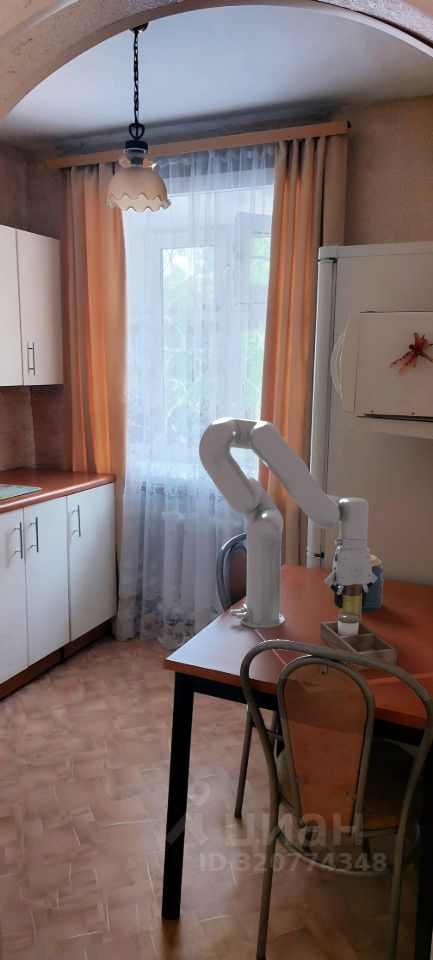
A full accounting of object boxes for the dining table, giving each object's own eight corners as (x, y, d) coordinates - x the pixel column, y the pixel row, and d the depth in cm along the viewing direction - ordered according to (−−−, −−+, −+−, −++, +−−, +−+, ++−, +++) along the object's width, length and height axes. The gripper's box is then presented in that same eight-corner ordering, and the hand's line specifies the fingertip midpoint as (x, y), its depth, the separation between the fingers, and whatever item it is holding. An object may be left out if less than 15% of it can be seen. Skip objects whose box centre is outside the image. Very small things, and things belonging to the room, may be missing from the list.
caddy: (355, 673, 157) (356, 654, 156) (320, 639, 176) (320, 622, 175) (395, 668, 160) (396, 649, 159) (356, 636, 179) (357, 619, 178)
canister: (389, 604, 204) (393, 549, 201) (368, 615, 194) (372, 557, 191) (352, 595, 212) (355, 541, 209) (330, 605, 203) (333, 549, 200)
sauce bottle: (345, 621, 189) (349, 554, 186) (364, 627, 185) (368, 559, 182) (332, 627, 184) (336, 558, 181) (351, 634, 180) (355, 563, 177)
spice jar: (342, 648, 169) (343, 620, 168) (333, 639, 174) (334, 613, 173) (361, 645, 171) (363, 618, 169) (352, 637, 176) (353, 611, 174)
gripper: (329, 548, 175) (327, 613, 178) (388, 544, 179) (384, 607, 182) (317, 541, 182) (315, 603, 185) (374, 537, 187) (371, 598, 189)
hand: (349, 605), depth 184 cm, fingers closed on sauce bottle, 6 cm apart
